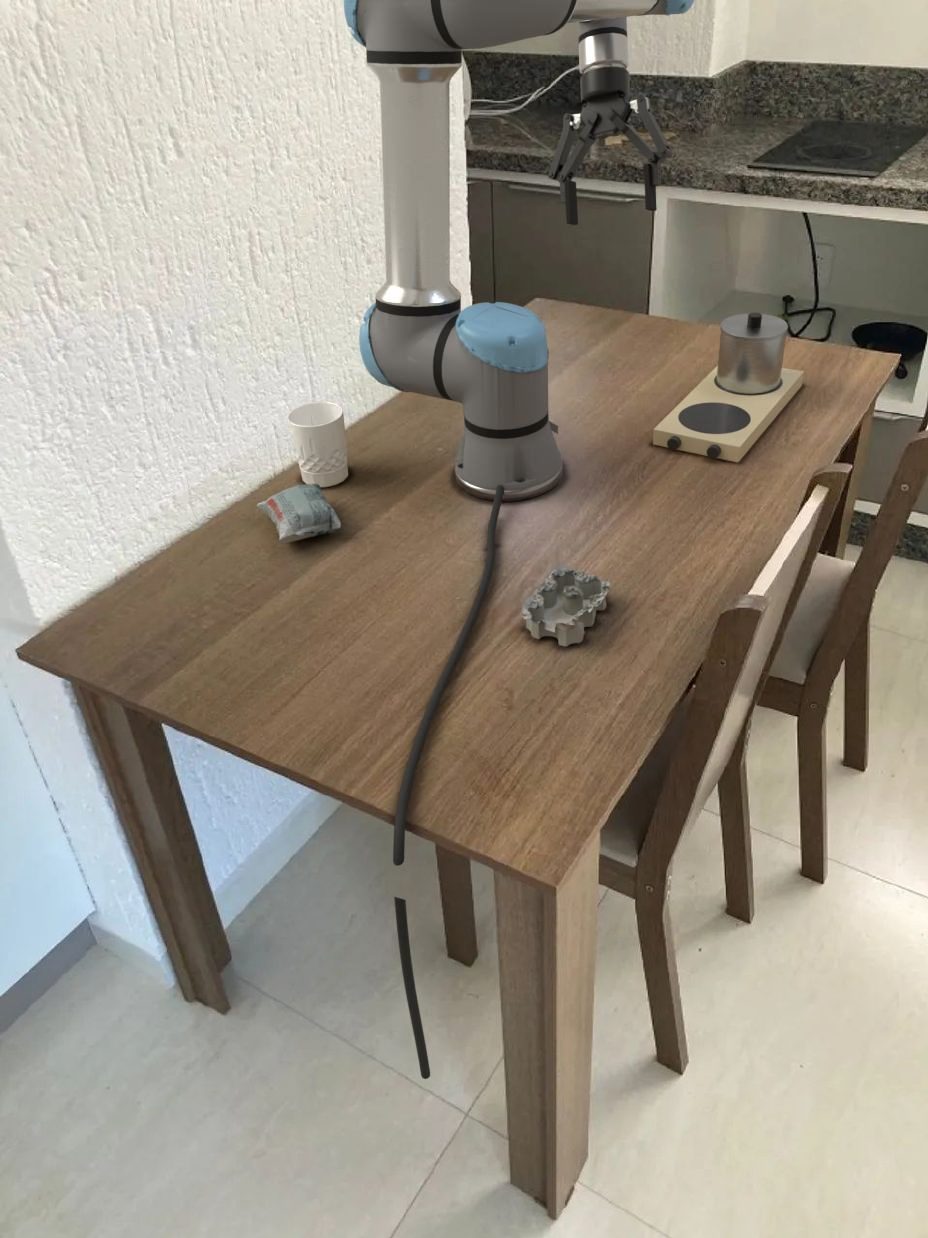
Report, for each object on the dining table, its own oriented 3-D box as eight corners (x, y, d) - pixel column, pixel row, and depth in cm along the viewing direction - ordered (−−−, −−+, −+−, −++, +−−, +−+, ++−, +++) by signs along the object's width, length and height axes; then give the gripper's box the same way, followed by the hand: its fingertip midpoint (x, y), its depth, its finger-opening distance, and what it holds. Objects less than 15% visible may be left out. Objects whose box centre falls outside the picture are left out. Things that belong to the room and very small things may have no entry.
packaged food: (281, 557, 131) (275, 525, 128) (259, 516, 140) (252, 485, 137) (345, 540, 134) (340, 508, 131) (319, 501, 143) (314, 469, 140)
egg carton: (574, 653, 112) (574, 623, 110) (515, 634, 115) (514, 605, 113) (616, 601, 119) (617, 572, 116) (559, 585, 122) (558, 556, 120)
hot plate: (735, 465, 142) (737, 449, 141) (649, 447, 148) (650, 431, 147) (801, 385, 161) (803, 370, 160) (723, 372, 167) (724, 357, 166)
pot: (768, 399, 153) (776, 330, 146) (706, 387, 157) (711, 321, 151) (789, 374, 159) (798, 308, 153) (729, 364, 164) (735, 299, 157)
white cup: (363, 470, 149) (354, 407, 143) (330, 494, 144) (319, 430, 138) (321, 459, 153) (311, 397, 147) (287, 482, 147) (275, 419, 141)
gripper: (690, 57, 154) (694, 206, 158) (544, 95, 167) (552, 231, 171) (672, 45, 148) (677, 200, 152) (522, 85, 161) (530, 227, 165)
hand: (610, 217), depth 162 cm, fingers open, 13 cm apart
